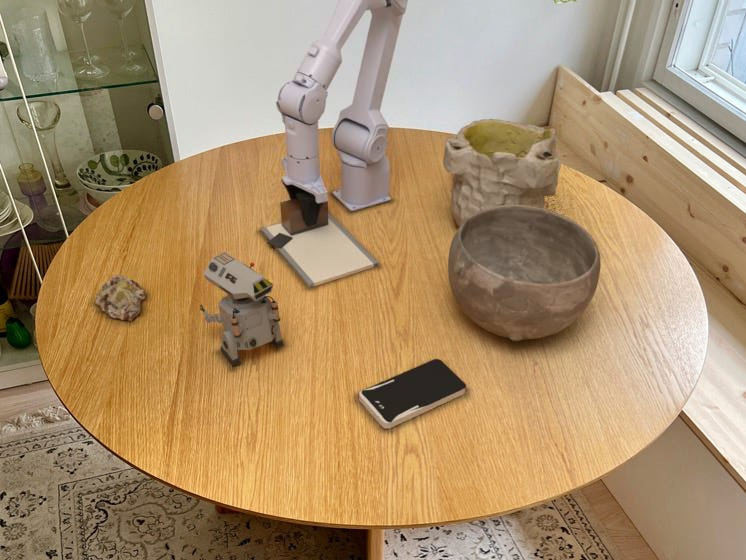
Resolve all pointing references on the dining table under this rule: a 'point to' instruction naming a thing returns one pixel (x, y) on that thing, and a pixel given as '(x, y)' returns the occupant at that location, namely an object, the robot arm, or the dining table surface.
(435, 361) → the smartphone
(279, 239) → the dark grey tile
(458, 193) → the ceramic vessel
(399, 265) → the dining table surface
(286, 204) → the brown rectangular block
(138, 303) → the mineral rock
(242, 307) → the figurine
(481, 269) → the bowl
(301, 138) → the robot arm
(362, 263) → the whiteboard
